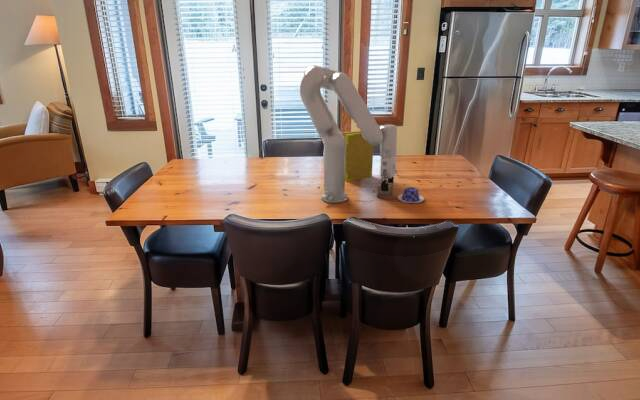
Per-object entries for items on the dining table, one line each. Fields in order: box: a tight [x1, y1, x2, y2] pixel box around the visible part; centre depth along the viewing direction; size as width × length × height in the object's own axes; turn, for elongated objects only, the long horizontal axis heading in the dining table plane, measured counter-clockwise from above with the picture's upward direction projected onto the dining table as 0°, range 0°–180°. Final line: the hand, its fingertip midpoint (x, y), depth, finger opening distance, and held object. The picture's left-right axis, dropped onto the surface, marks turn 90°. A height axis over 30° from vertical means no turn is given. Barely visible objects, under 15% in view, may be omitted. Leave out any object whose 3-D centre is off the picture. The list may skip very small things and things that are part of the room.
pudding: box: [397, 186, 425, 204], centre depth 172 cm, size 12×12×5 cm
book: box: [340, 130, 374, 182], centre depth 198 cm, size 17×7×25 cm, turn 112°
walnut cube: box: [376, 181, 394, 200], centre depth 176 cm, size 6×6×6 cm
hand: (387, 187), depth 175 cm, fingers open, 9 cm apart
